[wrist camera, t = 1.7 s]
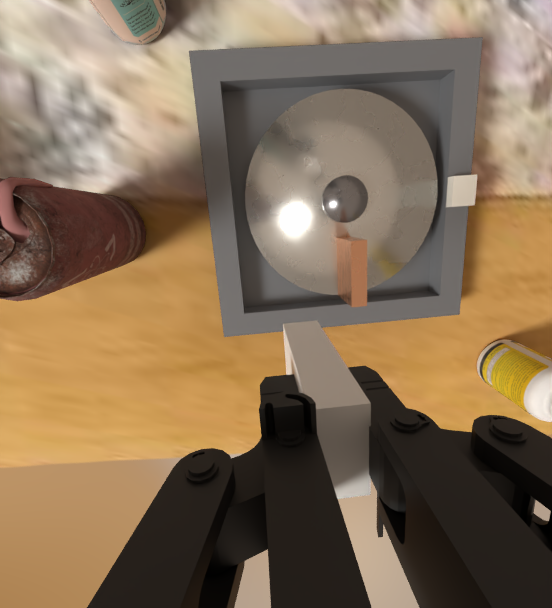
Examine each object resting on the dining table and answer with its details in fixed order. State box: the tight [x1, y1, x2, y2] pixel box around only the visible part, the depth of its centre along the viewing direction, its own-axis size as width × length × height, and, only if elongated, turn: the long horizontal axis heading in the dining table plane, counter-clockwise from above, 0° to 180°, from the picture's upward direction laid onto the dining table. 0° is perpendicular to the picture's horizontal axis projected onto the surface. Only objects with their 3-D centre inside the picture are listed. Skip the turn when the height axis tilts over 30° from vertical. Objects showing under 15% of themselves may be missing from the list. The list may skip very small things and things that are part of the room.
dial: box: [245, 89, 437, 307], centre depth 25 cm, size 16×16×6 cm
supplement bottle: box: [477, 339, 552, 422], centre depth 31 cm, size 5×5×10 cm
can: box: [0, 177, 146, 301], centre depth 22 cm, size 6×6×14 cm
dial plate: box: [189, 37, 483, 337], centre depth 28 cm, size 22×22×4 cm
